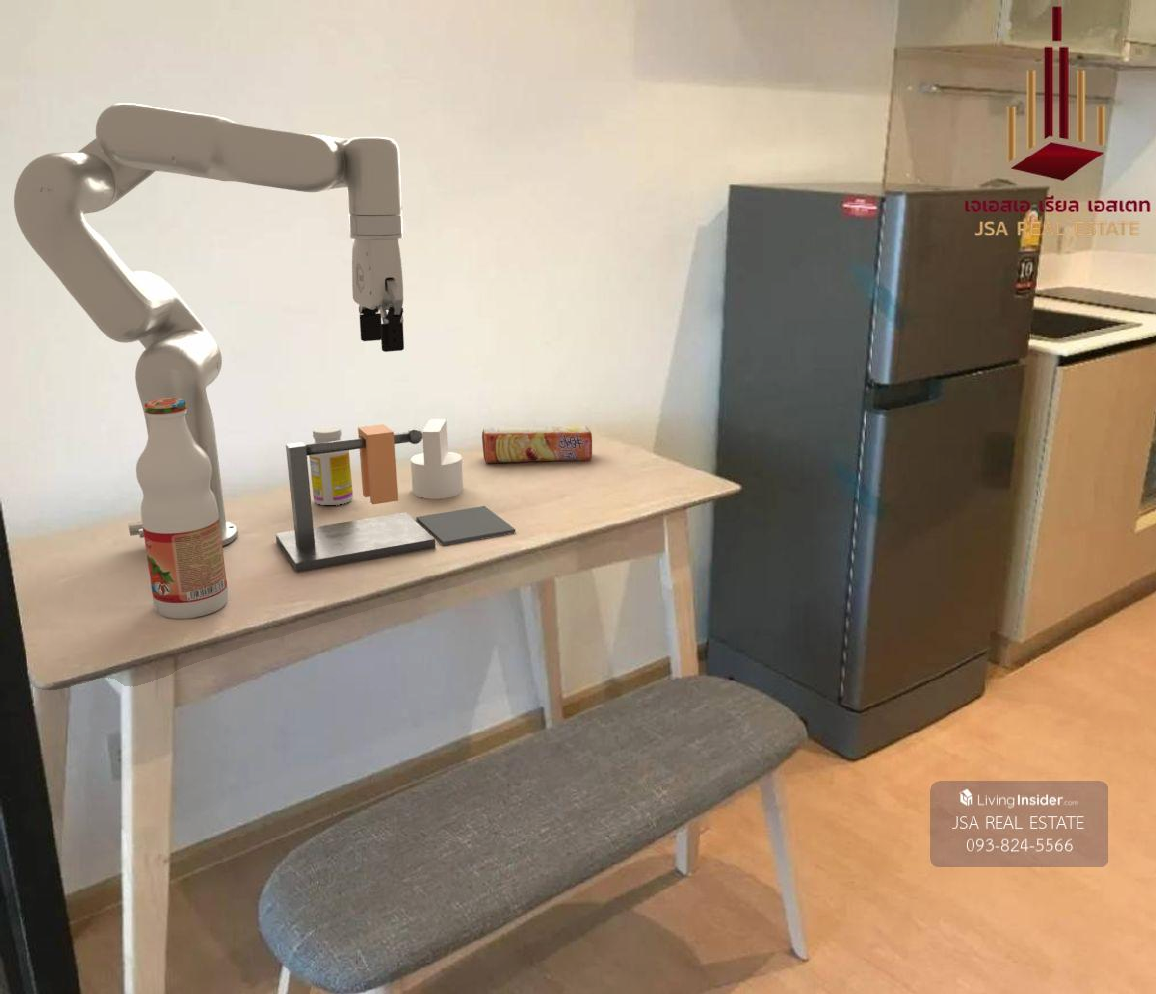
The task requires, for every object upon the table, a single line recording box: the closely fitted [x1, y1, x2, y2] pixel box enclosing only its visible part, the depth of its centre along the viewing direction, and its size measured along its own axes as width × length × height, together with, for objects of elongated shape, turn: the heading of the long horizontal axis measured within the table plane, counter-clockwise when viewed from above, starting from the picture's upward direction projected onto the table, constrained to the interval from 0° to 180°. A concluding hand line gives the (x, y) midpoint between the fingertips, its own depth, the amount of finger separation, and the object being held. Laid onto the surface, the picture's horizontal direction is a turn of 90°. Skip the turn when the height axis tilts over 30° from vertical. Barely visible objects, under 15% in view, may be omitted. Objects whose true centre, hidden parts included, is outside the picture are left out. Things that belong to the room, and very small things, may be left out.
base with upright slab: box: [410, 418, 464, 500], centre depth 187 cm, size 9×9×12 cm
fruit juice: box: [135, 398, 229, 620], centre depth 138 cm, size 9×9×28 cm
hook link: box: [357, 423, 399, 505], centre depth 161 cm, size 4×5×11 cm
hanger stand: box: [275, 427, 436, 574], centre depth 161 cm, size 22×14×17 cm, turn 117°
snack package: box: [481, 425, 593, 464], centre depth 206 cm, size 21×7×7 cm, turn 95°
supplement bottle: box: [309, 425, 354, 506], centre depth 182 cm, size 7×7×13 cm
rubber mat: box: [415, 505, 516, 547], centre depth 171 cm, size 12×13×1 cm
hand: (382, 345), depth 158 cm, fingers open, 9 cm apart
